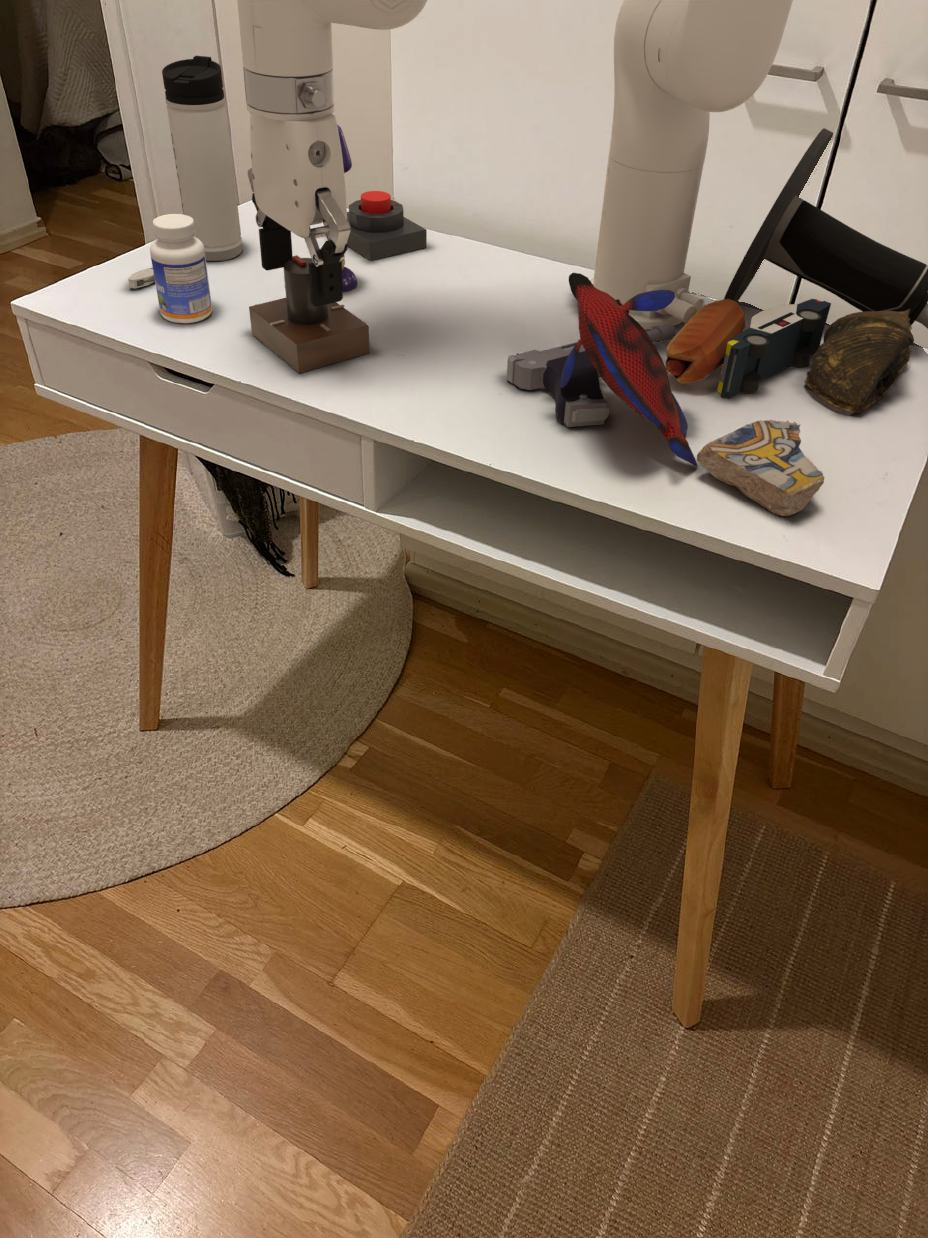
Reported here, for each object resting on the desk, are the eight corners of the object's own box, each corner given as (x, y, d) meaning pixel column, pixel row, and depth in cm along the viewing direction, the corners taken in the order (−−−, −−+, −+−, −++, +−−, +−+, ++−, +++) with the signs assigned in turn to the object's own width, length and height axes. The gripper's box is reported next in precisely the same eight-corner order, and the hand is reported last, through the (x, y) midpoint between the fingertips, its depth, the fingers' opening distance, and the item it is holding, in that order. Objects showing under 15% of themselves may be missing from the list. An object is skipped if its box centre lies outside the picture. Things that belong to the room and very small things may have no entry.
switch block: (426, 247, 121) (426, 213, 118) (370, 260, 117) (369, 226, 115) (382, 221, 127) (381, 189, 124) (328, 233, 123) (326, 200, 121)
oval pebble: (159, 271, 114) (158, 261, 113) (176, 275, 113) (174, 265, 112) (121, 286, 109) (120, 275, 109) (138, 290, 109) (137, 280, 108)
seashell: (886, 423, 92) (897, 350, 88) (788, 409, 96) (795, 339, 92) (927, 356, 102) (939, 288, 98) (838, 346, 107) (845, 281, 103)
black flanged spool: (715, 323, 115) (910, 430, 112) (731, 273, 96) (965, 400, 93) (806, 174, 113) (1007, 279, 110) (840, 92, 94) (1084, 216, 91)
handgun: (743, 360, 95) (663, 312, 103) (577, 409, 87) (502, 353, 95) (738, 384, 97) (659, 335, 105) (574, 435, 89) (501, 378, 97)
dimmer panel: (370, 352, 100) (369, 323, 98) (298, 373, 96) (295, 343, 94) (321, 316, 106) (319, 287, 104) (250, 334, 102) (247, 304, 100)
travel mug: (252, 243, 120) (231, 57, 107) (230, 264, 115) (205, 72, 102) (203, 237, 121) (177, 52, 108) (180, 258, 116) (149, 66, 103)
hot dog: (720, 384, 93) (673, 398, 96) (760, 330, 102) (715, 345, 105) (700, 335, 91) (653, 352, 94) (743, 285, 100) (698, 301, 103)
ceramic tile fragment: (853, 486, 78) (733, 492, 77) (841, 521, 80) (724, 527, 79) (792, 412, 87) (683, 416, 86) (782, 445, 89) (676, 449, 88)
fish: (607, 205, 81) (680, 270, 93) (494, 303, 87) (577, 352, 99) (716, 394, 75) (780, 438, 87) (586, 487, 80) (663, 515, 93)
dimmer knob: (335, 317, 99) (332, 265, 95) (300, 327, 97) (295, 273, 93) (315, 303, 101) (312, 251, 97) (280, 312, 99) (275, 259, 96)
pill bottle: (161, 303, 107) (144, 211, 100) (212, 301, 108) (199, 209, 101) (160, 326, 103) (143, 231, 96) (213, 322, 104) (200, 228, 97)
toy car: (735, 403, 94) (693, 383, 97) (829, 354, 103) (788, 337, 105) (746, 353, 91) (702, 334, 94) (842, 307, 99) (799, 291, 102)
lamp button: (396, 212, 120) (396, 197, 118) (371, 217, 118) (370, 202, 117) (380, 203, 122) (380, 188, 121) (355, 208, 120) (354, 193, 119)
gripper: (380, 110, 82) (381, 309, 93) (280, 63, 92) (292, 247, 104) (300, 122, 79) (311, 326, 90) (205, 72, 89) (226, 261, 100)
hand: (301, 284), depth 97 cm, fingers open, 9 cm apart
